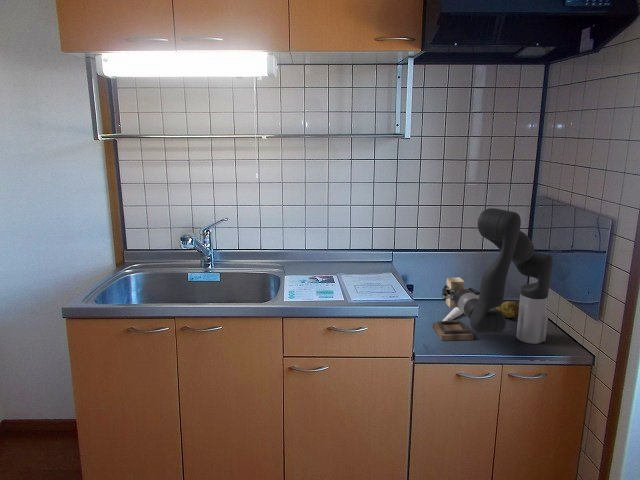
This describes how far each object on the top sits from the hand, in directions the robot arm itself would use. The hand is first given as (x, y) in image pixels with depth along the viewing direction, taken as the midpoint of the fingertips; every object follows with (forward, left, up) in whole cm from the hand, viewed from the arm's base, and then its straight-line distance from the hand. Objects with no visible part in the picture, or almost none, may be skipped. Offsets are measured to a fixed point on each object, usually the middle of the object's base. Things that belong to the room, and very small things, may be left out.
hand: (452, 287), depth 185 cm
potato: (-27, -10, -18) cm, 34 cm away
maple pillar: (0, +3, -6) cm, 7 cm away
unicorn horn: (-7, -13, -18) cm, 24 cm away
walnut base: (0, +3, -18) cm, 18 cm away
